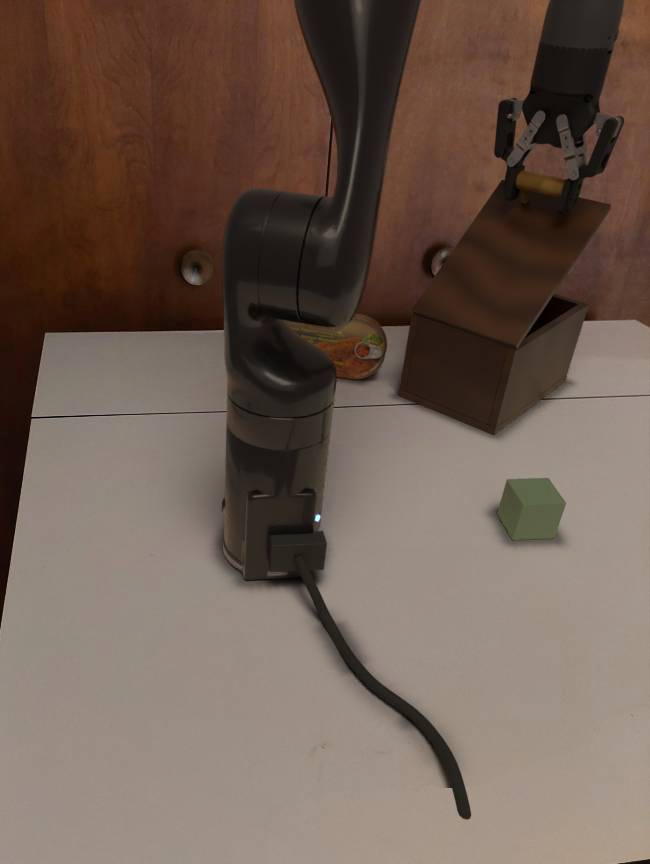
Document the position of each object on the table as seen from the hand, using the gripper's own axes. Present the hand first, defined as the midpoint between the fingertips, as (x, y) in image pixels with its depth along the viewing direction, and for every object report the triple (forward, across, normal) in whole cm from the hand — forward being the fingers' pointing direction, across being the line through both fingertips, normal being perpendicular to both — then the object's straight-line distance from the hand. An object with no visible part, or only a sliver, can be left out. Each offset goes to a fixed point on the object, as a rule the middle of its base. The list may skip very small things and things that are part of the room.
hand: (537, 205), depth 94 cm
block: (+23, +18, -27) cm, 40 cm away
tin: (+23, -18, -14) cm, 32 cm away
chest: (+23, 0, -3) cm, 23 cm away
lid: (+6, 0, -4) cm, 7 cm away
